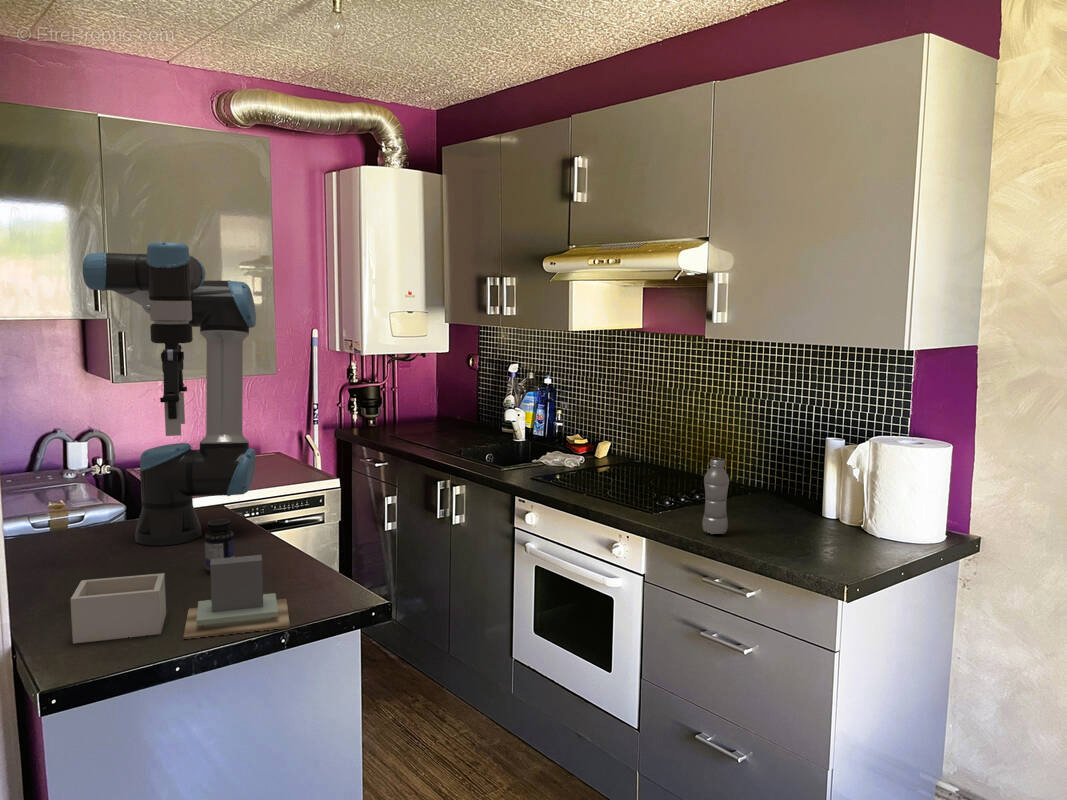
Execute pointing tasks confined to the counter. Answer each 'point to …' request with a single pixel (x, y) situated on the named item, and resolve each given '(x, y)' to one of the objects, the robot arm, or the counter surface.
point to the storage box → (118, 608)
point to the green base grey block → (236, 593)
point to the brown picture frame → (201, 631)
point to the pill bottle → (218, 541)
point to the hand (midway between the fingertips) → (175, 429)
